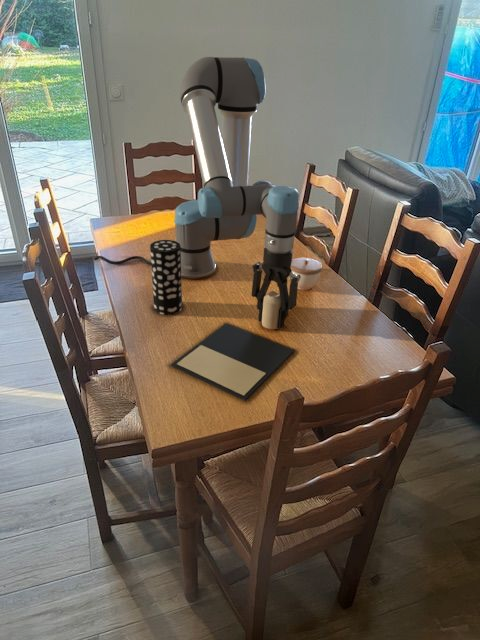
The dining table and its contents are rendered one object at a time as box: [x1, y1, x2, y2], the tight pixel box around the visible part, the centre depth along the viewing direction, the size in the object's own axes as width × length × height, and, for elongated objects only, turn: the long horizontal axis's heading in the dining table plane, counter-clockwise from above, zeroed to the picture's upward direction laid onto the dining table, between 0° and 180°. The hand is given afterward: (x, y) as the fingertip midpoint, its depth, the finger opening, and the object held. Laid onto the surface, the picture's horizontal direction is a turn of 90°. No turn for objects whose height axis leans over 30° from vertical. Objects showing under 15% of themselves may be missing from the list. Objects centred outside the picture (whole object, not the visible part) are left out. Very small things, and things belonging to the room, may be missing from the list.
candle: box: [261, 290, 282, 330], centre depth 131 cm, size 6×6×10 cm
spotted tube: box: [149, 239, 183, 316], centre depth 135 cm, size 8×8×20 cm
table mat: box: [170, 322, 295, 402], centre depth 120 cm, size 22×24×1 cm
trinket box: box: [288, 257, 323, 291], centre depth 153 cm, size 11×11×9 cm
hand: (271, 323), depth 133 cm, fingers closed on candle, 5 cm apart
